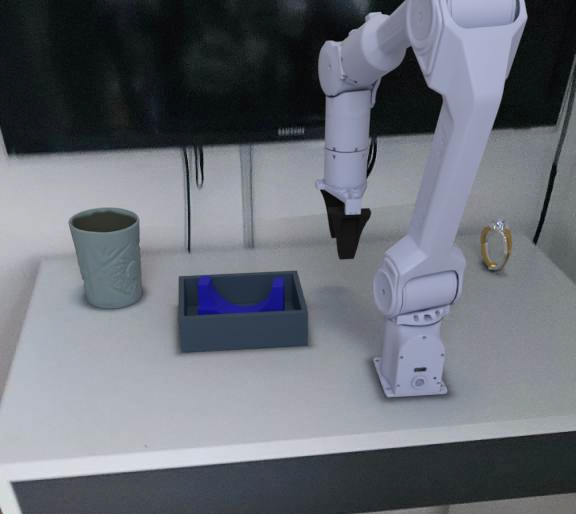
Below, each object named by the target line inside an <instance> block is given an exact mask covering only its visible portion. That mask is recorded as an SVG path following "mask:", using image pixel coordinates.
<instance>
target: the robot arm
mask: <svg viewBox="0 0 576 514" xmlns="http://www.w3.org/2000/svg"><path fill="white" fill-rule="evenodd" d="M364 20H365V22H364V23H363V24H362V25H361V26H360V27H358V28H355V29H352V30H350V31H349V32H348V36H347V37H346V38H345V39H344V40H342V41H335V40H325V42H324V44H323V45H322V46H321V48H320V51H319V54H318V62H317V70H318V71H317V73H318V80H319V84H320V88H321V90H322V91H323V93H324V95H325V116H324V117H325V119H324V121H325V123H324V124H325V125H324V160H323V161H324V166H323V178H322V179H321V178H320V179H315V180H314V187H315V189H317V190H319V191H320V194H321V196H322V198H323V201H324V205H325V210H326V215H327V223H328V230H329V234H330V237H331V239H335V243H336V252H337V255H338V259H339V260H340V261H341V260H342V261H343V260H344V261H345V260H354V259H355V257H356V254H357V250H358V247H359V243H360V239H361V236H362V234H363V231H364V229H365V227H366V225H367V223H368V221H369V220H370V219H371V216H372V210H371V208H370V207H362V199H363V197H364V195H365V193H366V191H367V189H368V180H367V170H368V157H369V156H368V155H369V139H370V121H371V109H372V108H374V106H375V104H376V98H377V97H376V96H377V90H378V89H379V86H380V83H381V81H382V77H384V76H385V75H387V74H389V73H391V72H392V71H394V70H395V69H396V68H398V67H399V66H400V65H401V64H402V62H403V60H404V58H405V56H406V53H407V49H408V48H410V47H411V48H412V52H413V53H414V55H415V58H416V60H417V63H418V65H419V67H420V70H421V73H422V75H423V78H424V80H425V83H426V85H427V87H428V88H429V89H431V90H432V91H434V92H435V93H438V94H439V95H441V97H442V104H441V107H440V111H439V115H438V118H437V119H438V120H437V122H436V127H435V130H434V133H433V137H432V140H431V145H430V148H429V152H428V155H427V159H426V163H425V167H424V171H423V175H422V178H421V180H420V181H421V182H420V184H419V185H420V186H419V189H418V193H417V196H416V200H415V203H414V207H413V211H412V215H411V218H410V221H409V226H408V229H407V232H406V235H404V236H403V237H401V239H399V240H398V241H397V242H395V243H394V244H393V245H392V246H390V247H389V248H388V249H387V250H386V251H385V252H384V254H383V259H382V260H381V263H380V265H379V266H378V267H377V269H376V270H375V273H374V275H373V277H372V284H371V288H372V289H371V290H372V297H373V301H374V304H375V307H376V308H377V310H378V311H379V313H381V314H382V316H384V326H383V337H382V347H381V348H382V350H381V356H375V357H373V358H372V362H373V365H374V369H375V372H376V373H377V376H378V379H379V382H380V384H381V388H382V390H383V393H384V396H385V397H386V398H402V397H403V398H404V397H419V396H435V395H437V396H438V395H446V394H447V393H448V388H447V386H446V384H445V382H444V379H443V373H444V367H445V361H446V351H447V350H446V346H445V343H444V340H443V338H442V329H443V322H444V317H445V316H447V315H449V314H450V309H451V306H454V305H455V304H457V302H458V301H459V300H460V298H461V296H462V293H463V289H464V274H465V269H466V266H467V263H468V262H467V260H466V257H465V253H464V252H463V251H462V249H461V247H460V246H459V245H458V244H457V243H456V242H455V240H456V237H457V234H458V231H459V227H460V224H461V222H462V218H463V217H464V213H465V211H466V207H467V204H468V201H469V198H470V195H471V192H472V189H473V186H474V183H475V180H476V178H477V174H478V172H479V168H480V165H481V163H482V159H483V156H484V153H485V150H486V147H487V144H488V142H489V138H490V136H491V132H492V130H493V127H494V123H495V120H496V118H497V115H498V112H499V109H500V105H501V102H502V99H503V95H504V88H505V83H506V80H507V79H508V77H509V75H510V71H511V69H512V66H513V62H514V59H515V57H516V54H517V50H518V48H519V45H520V41H521V38H522V36H523V32H524V29H525V26H526V23H527V21H528V13H527V8H526V2H525V0H404V1H403V2H402V3H401V4H400V5H399V6H398V7H397V8H396V9H395V10H394V11H393V12H392V13H391V14H390V15H389V14H382V12H381V11H377V12H369V13H368V14H367V15H366V16H365V17H364Z"/></svg>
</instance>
